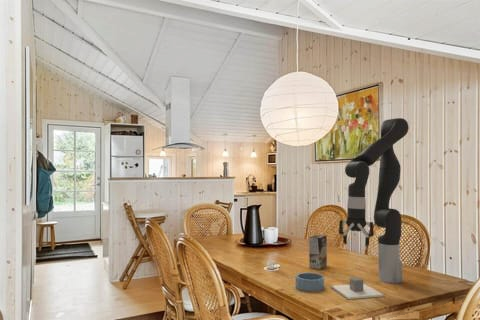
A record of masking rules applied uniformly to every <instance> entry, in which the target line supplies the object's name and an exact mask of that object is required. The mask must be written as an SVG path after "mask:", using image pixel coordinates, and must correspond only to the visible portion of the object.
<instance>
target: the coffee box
mask: <svg viewBox="0 0 480 320" xmlns="http://www.w3.org/2000/svg"><path fill="white" fill-rule="evenodd" d="M327 237H328V236H327V235H321V234H316V235H312V236H309V237H308V253H309V254H308V255H309V256H308V257H309V258H308V259H309V260H308V265H309V266H308V268H311V269H318V270H321V269H323V268H325V267H327V266H328V249H327V247H328V245H327V241H328V240H327Z"/></svg>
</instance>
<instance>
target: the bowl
mask: <svg viewBox="0 0 480 320" xmlns="http://www.w3.org/2000/svg"><path fill="white" fill-rule="evenodd" d="M325 286H326V285H325V276H324V275H323V274H321V273H316V272H300V273H297V274H296V275H295V287H296V289H298V290H300V291H304V292H320V291H323V290H324V289H325Z"/></svg>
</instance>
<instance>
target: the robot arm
mask: <svg viewBox="0 0 480 320" xmlns="http://www.w3.org/2000/svg"><path fill="white" fill-rule="evenodd" d="M409 127H410V126H409V124H408V121H407V120H406V119H404V118H401V117H400V118H399V117H398V118H391V119H386V120H385V119H384V120H383V121H382V123H381V125H380V137H379V138H378V139H376V140H375V141H373V142H371V143H370V144H369V145H367V147H366V148H364V149H363V151H362V152H361V153H359V154H358V155H357V156H355V157H353V159H351V160H350V161H348V162H347V164H346V165H345V168H344V173H345V175H346V176H347V177H348V178H352V179H355V180H354V182H352V183H349V185H348V188H347V189H348V191H347V196H348V198H347V205H346V207H347V214H346V218H347V219H346V220H343V219H340V220H339V225H338V227H339V228H338V234H339V235H342V237H343V238H342V242H343V244H344V245H346V246H347V244H348V233H349V232H350V231H352V232H361V233H363V235H364V236H365V247H368V246H369V245H370V238H372V237H374V234H375V233H374V224H375V225H376V226H377V227H379V228H383V229H385V231H384V234H383V235H379V236H378V238H377V256H378V258H377V260H378V280H379V281H380V282H383V283H386V284H395V285H396V284H397V285H398V284H401V283H403V261H402V260H401V250H400V247H401V245H400V241H401V238H402V215H401V212H400V211H399V210H398V209H395V208H391V207H390V201H391V197H392V195H393V193H394V192H395V190H396V189H397V187H398V185H399V184H400V180H401V164H400V162H399V160H398V157H397V155H396V153H395V151H394V144H395V145H396V143H398V141H400V140H401V139H403V138H404V137H405V136H407V134H408V133H409ZM379 158H380V159H379ZM377 160H379V169H378V170H379V172H378V184H377V185H378V186H377V194H376V200H375V205H374V212H373V221H370V222H369V221H367V220H366V209H367V208H366V207H367V206H366V186H367V183H368V179H369V176H370V167H371V166H373V165H374V164H375V163H376V162H377ZM345 224H346V225H347V229H345V231H343V230H344V229H343V227H344V226H345ZM366 226H367V227H368V228H369V231H370V232H369V233H368V231H367V230H366V228H365V227H366Z"/></svg>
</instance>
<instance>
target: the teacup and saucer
mask: <svg viewBox="0 0 480 320" xmlns="http://www.w3.org/2000/svg"><path fill="white" fill-rule="evenodd" d="M267 268H268V269H267ZM280 268H281V265H280V264H276V263H275V261H273V260H268V261H267V265H266V266H265V267H264V268H263V270H265V271H271V272H274V271H278V270H280Z"/></svg>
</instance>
